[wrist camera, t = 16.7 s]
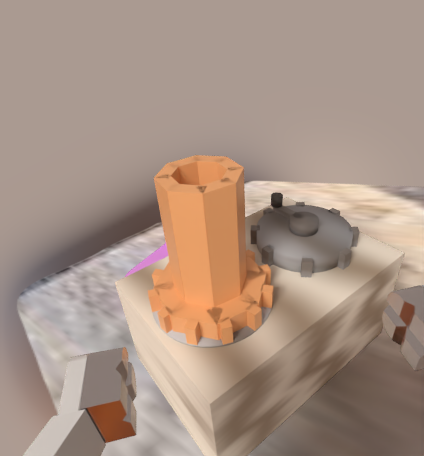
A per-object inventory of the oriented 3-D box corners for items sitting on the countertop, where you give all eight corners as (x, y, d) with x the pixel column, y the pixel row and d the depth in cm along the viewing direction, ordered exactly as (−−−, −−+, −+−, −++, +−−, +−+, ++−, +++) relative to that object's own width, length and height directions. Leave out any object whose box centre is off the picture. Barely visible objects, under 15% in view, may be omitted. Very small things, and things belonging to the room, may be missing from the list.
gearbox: (283, 267, 43) (288, 162, 35) (380, 332, 34) (417, 211, 26) (138, 357, 34) (102, 242, 26) (220, 479, 25) (203, 360, 17)
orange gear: (280, 264, 28) (286, 146, 23) (261, 358, 21) (262, 221, 16) (177, 251, 31) (159, 142, 25) (130, 331, 24) (89, 205, 18)
